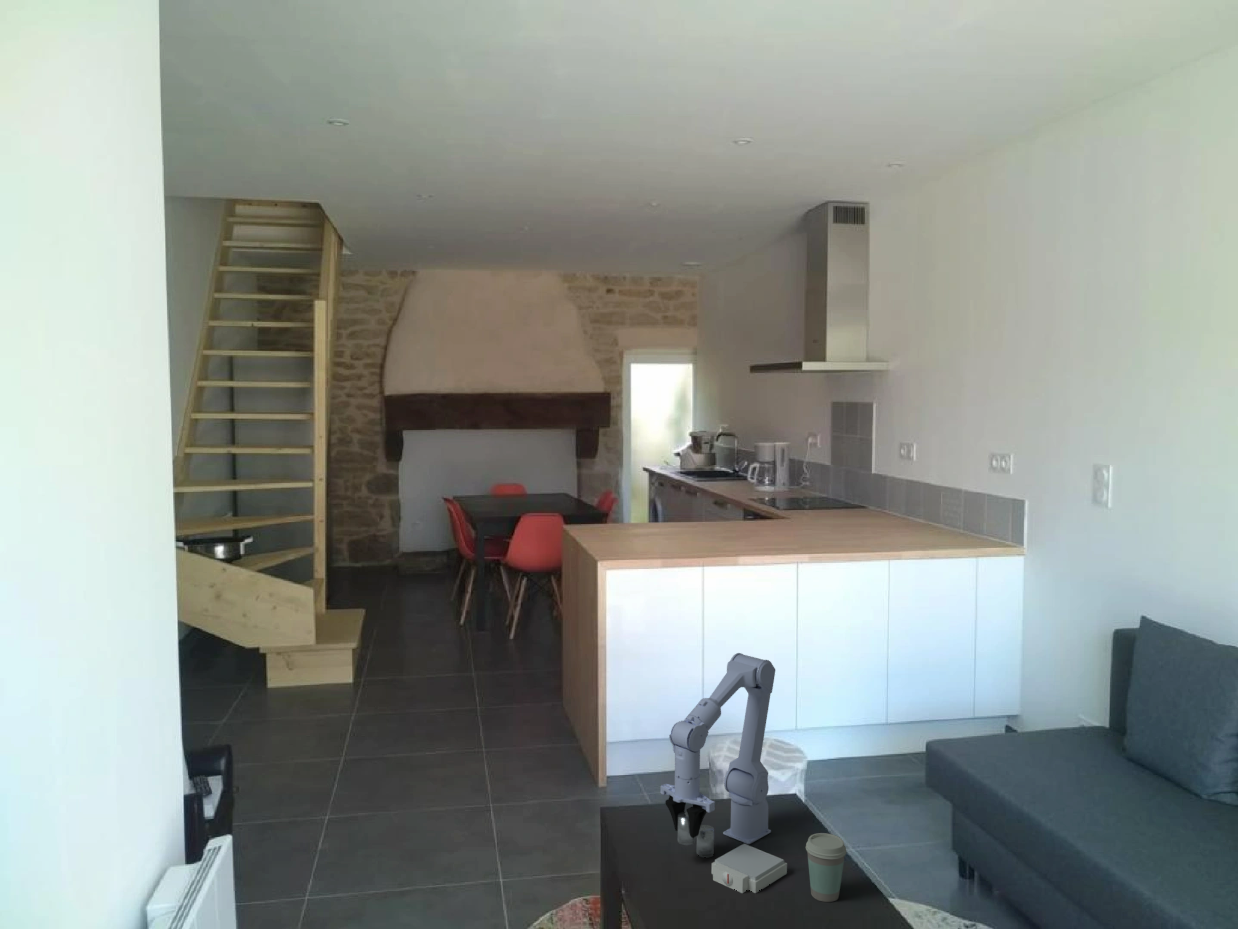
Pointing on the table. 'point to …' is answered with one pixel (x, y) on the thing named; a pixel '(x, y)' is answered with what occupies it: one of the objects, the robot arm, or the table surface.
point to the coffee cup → (825, 865)
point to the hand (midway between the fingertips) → (686, 832)
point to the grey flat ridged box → (748, 869)
